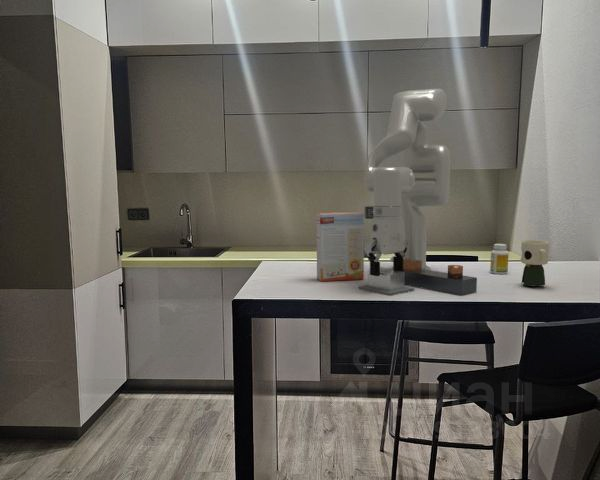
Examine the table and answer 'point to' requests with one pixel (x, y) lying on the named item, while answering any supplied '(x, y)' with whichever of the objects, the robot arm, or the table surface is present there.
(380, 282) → the lever cap
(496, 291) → the table surface
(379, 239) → the robot arm
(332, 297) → the table surface
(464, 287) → the body
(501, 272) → the supplement bottle
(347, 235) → the cracker box
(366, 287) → the rubber mat
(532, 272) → the character mug
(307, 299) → the table surface
